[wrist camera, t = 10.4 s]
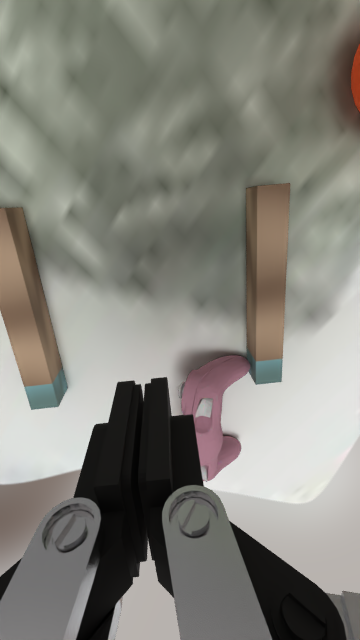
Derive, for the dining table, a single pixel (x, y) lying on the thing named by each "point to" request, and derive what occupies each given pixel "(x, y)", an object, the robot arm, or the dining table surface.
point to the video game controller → (212, 410)
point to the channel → (35, 325)
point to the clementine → (356, 79)
